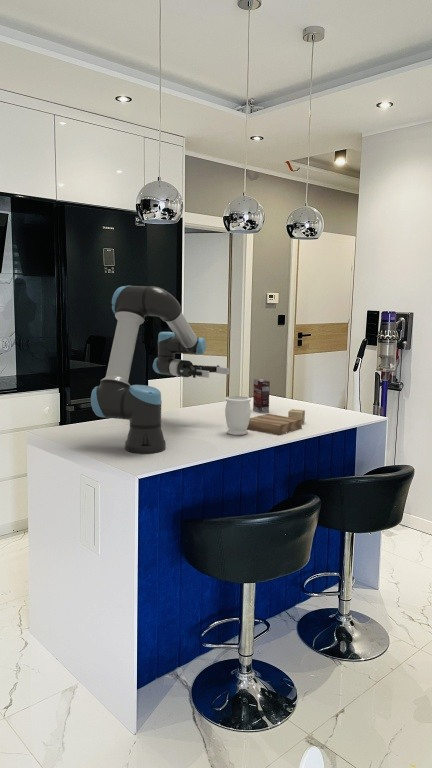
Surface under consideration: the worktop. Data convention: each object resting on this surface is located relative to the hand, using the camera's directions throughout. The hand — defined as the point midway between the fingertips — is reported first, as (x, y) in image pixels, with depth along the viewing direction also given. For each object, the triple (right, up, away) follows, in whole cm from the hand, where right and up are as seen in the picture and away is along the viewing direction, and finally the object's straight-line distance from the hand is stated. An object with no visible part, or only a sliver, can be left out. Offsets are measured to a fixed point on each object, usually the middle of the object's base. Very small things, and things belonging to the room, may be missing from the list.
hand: (218, 372), depth 257 cm
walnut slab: (+24, -24, +7) cm, 35 cm away
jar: (+8, -26, -3) cm, 27 cm away
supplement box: (+21, -19, +45) cm, 53 cm away
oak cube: (+35, -23, +18) cm, 46 cm away
